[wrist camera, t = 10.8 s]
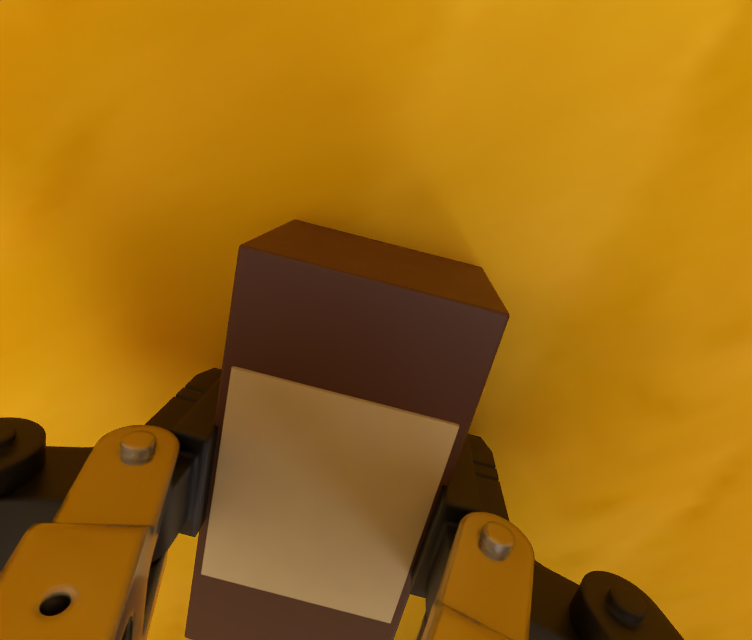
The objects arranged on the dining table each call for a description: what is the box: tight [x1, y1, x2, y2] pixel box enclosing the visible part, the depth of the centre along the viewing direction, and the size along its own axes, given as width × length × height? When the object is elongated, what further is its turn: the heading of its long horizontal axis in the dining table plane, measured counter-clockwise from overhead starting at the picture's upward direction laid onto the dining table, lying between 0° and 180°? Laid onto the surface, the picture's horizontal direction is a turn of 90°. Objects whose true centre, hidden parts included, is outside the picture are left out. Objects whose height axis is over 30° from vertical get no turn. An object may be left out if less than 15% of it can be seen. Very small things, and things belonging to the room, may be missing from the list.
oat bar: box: [185, 220, 509, 640], centre depth 10 cm, size 9×4×4 cm, turn 166°
